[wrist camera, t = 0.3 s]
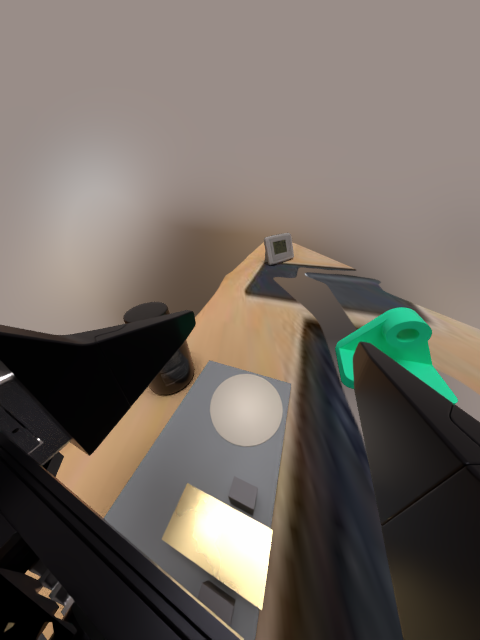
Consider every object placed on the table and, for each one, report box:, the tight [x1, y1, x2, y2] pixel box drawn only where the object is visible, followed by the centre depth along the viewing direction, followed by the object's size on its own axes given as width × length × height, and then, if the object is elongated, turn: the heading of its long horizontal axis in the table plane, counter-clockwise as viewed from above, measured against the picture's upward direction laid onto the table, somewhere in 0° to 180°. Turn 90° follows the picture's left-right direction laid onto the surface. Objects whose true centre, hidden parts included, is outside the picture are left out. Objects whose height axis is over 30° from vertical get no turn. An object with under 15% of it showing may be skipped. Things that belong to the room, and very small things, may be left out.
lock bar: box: [162, 483, 273, 610], centre depth 12 cm, size 3×7×2 cm, turn 70°
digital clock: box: [264, 233, 294, 265], centre depth 73 cm, size 16×9×11 cm, turn 119°
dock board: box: [104, 360, 291, 640], centre depth 18 cm, size 19×13×4 cm
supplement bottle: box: [123, 302, 194, 395], centre depth 23 cm, size 7×7×12 cm
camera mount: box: [335, 308, 458, 404], centre depth 23 cm, size 12×8×10 cm, turn 72°
